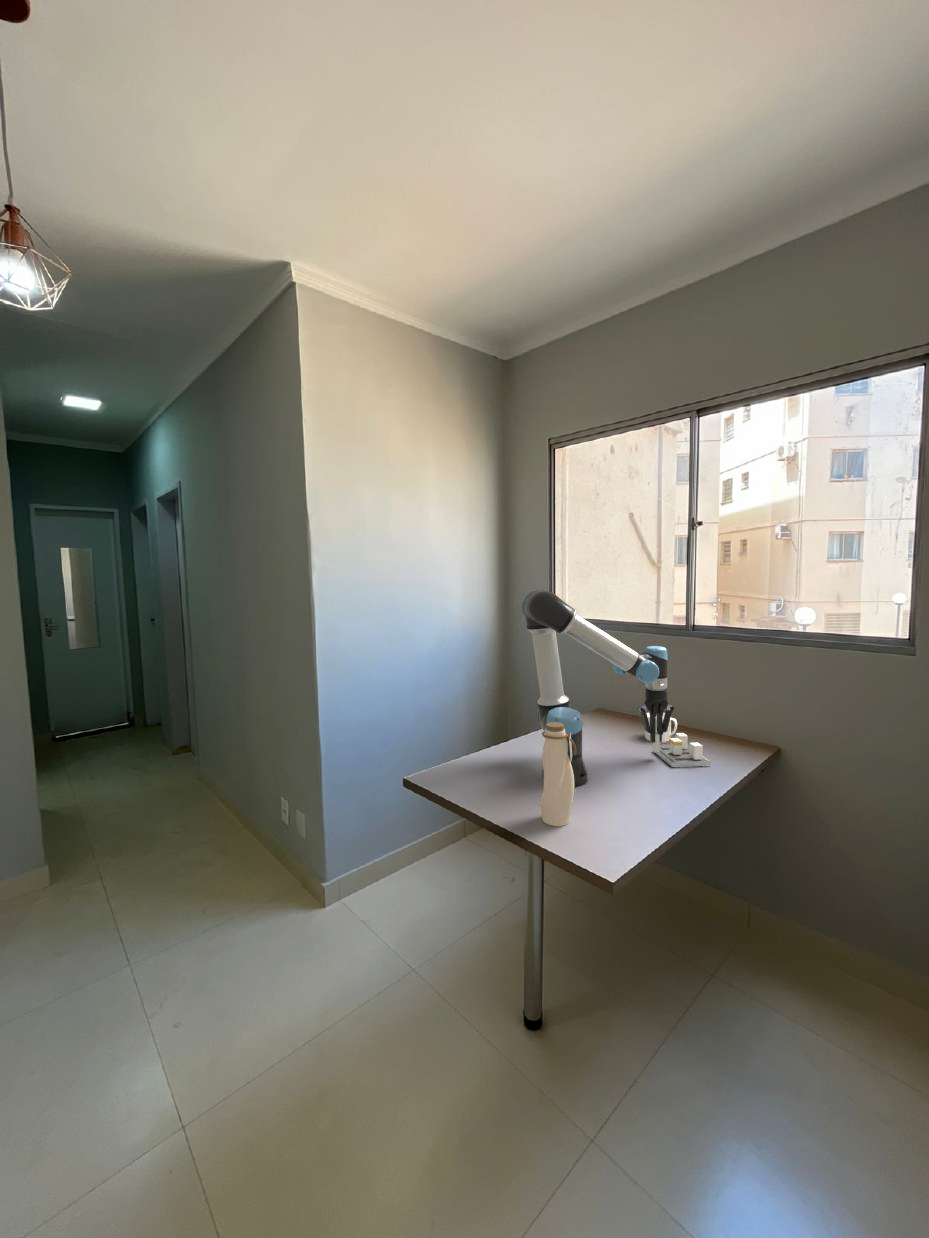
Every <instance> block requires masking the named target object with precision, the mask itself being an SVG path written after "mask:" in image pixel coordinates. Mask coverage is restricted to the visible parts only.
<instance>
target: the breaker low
mask: <svg viewBox="0 0 929 1238" xmlns="http://www.w3.org/2000/svg"><path fill="white" fill-rule="evenodd" d="M689 746H690V753H689V756H690V757H691V758H693V759H694V760H698V759H703V756H704V754H703V753H704V750H703V749H704V745H703V744H701V743H699V742H689Z"/></svg>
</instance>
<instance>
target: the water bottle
mask: <svg viewBox="0 0 929 1238" xmlns="http://www.w3.org/2000/svg"><path fill="white" fill-rule="evenodd" d="M541 736H542V737H544V742H543V746H542V753H541V759H542V765H543V766H542V767H543V769H544V779H543V792H542V798H541V801H540V814H541V819H542V822H544V823H545V824H546V825H549V826H552V827H563V826H566V825H568V824H569V823H570V816H571V811H572V806H573V802H574V796H575V787H574V774H573V769H572V765H571V762H570V759H569V756H568V741H567V738H568V739H569V743H570V757H571V760H572V745H571V742H572V744H573V746H574V755H576V746H575V743H574V742H573V740H572V739H571V732H570V737H569V736H568V734H567V733H566V732H565V729H564V724H563V723H560V722H549V723H547V724H546V729H545V731H544V730H543V731H542V733H541ZM566 737H567V738H566Z"/></svg>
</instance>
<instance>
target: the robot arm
mask: <svg viewBox="0 0 929 1238" xmlns="http://www.w3.org/2000/svg"><path fill="white" fill-rule="evenodd" d="M521 610H522V613H523V616H524V617H525V625H526V630H527V631H528V632H529V633H531V638H532V644H533V651H534V652H533V653H534V659H535V666H536V673H537V682H538V687H539V694H540V697H539V698H538V699H537V702H536V703H537V710H538V712H537V716H536V717H537V722H538V725H539V726H540V728H541V729H542V730H543V732H544V731H545V729H546V724H547V723H549V722H560V723H563V724H564V729H565V732H566V733H567V734H568V736H569V737H570V732H571V739H572V740H573V742H574V743H575V746H576V755H574V746H573V744H572V742H571V745H572V760H571V757H570V743H569V739H568V738H567V737H566V738H567V741H568V756H569V759H570V762H571V765H572V769H573V774H574V788H577V787H581V786H583V785H586V783H587V782H588V781H589V780H588V775H589V774H588V770H587V768H586V764H585V761H584V758H583V726H584V725H583V724H584V722H583V717H582V714H581V713H580V712H579V711H578V710H576V709H574V708H572V707H571V703H570V698H569V697H568V696H567V695H565V693H564V684H563V675H562V668H561V661H560V654H559V648H558V645H559V644H558V639H557V633H558V634H565V635H567V636H568V637H570V638H572V639H573V640H574V641H576V642H578V643H579V644H580V645H583V646H584V647H586V648H587V649H589V650H591V651H592V652H594V653H596V654H597V655H598V656H600V657H602V658H603V659H605V660H607V661H608V662H610V663H611V664H612V665H611V666H612V670H613V672H614V674H616V675H617V674H618V675H628V676H630V677H633V678H635V679H636V680H638V681H640V682H641V683H644V684H645V692H644V693H645V694H644V695H645V701H644V703H643V705H641V706H638V708H637V709H638V711H639V712H640V715H641V719H642V723H643V727H644V732H645V731H647V732H648V733H650V741H651V742H650V741H649V742H650V743H652V751H653V750H654V751H655V752H660V747H661V745H660V744H661V743H660V742H662V735H663V733H664V732H667V730H668V726H669V722H670V718H672V714H673V712H674V710H675V707H674V706H672V705H671V704H669V702H668V689H667V688H668V660H669V659H668V650H667V648H666V647H664V646H659V645H650V646H646V647H645V648H644V652H637V651H635V650H634V649H632V648H631V647H629V646H627V645H625V644H624V643H622V642H621V641H620V640H618V639H616V638H615V637H613V636H611V635H610V634H608V633H607V632H605V631H604V630H602V629H601V628H599V627H597V626H596V625H595V624H593V623H591V622H590V621H588V620H586V619H585V618H584V617H582V616H580V615H579V614H577V610H576V609H575V608H573V607H572V606H570V605H569V604H568V603H567V602H565V601H564V600H562V598H560V596H558V595H557V594H555V593H554V592H551V591H549V590H548V591H546V590H545V589H544V590H543V589H540V590H538V589H537V590H533V591H531V592H529V593H528V594H527V595H525V597H524V599H523V601H522V605H521ZM647 710H648V712H647ZM647 713H649V714H650V725H649V721H648V717H647ZM663 713H665V715H664V719H663ZM656 715H657V732H656ZM542 779H543V780H544V768H543V770H542Z"/></svg>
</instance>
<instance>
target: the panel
mask: <svg viewBox="0 0 929 1238" xmlns="http://www.w3.org/2000/svg"><path fill="white" fill-rule="evenodd" d="M652 752H653V754H655V753H656V754H657V755H658V756H660V757H661V758H660V757H659V758H660V759H661V760H662V761H663V760H664V761H665V762H664V761H663V762H664V763H665V764H667V763H668V764H669V765H670V766H671V767H670V766H669V765H668V764H667V765H668V766H669V767H670V768H672V767H680V768H692V767H691V766H703V765H704V766H703V767H707V766H706V765H710V766H711V760H710V759H708V758H707V757H706V756H704V755H703V759H698V760H694V759H693V758H691V757H690V756H689V753H690V745H688V749H682V754H679V755H674V754H672V753H671V752H670V745H669V746H660V752H655V751H654V750H653V749H652ZM656 754H655V755H656ZM657 755H656V756H657Z"/></svg>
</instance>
